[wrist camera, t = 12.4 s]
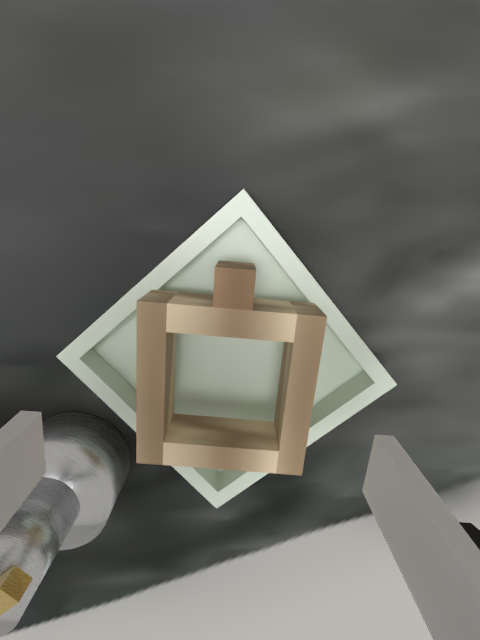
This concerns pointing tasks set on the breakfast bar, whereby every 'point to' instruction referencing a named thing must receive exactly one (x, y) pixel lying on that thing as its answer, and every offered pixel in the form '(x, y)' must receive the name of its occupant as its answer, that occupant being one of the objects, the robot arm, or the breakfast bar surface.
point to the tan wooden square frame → (236, 322)
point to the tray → (229, 343)
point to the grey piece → (61, 505)
